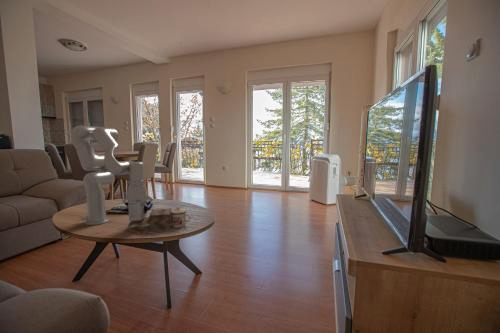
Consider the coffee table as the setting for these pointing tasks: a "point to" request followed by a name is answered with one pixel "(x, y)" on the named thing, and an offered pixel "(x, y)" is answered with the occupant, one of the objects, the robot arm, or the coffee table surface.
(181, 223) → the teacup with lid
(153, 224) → the step stand
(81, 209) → the coffee table surface
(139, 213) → the light bulb box
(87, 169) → the robot arm
